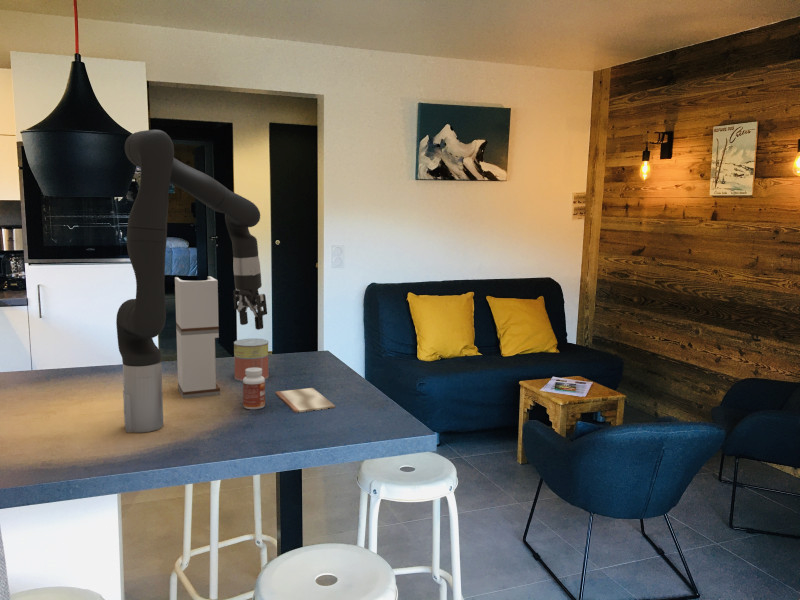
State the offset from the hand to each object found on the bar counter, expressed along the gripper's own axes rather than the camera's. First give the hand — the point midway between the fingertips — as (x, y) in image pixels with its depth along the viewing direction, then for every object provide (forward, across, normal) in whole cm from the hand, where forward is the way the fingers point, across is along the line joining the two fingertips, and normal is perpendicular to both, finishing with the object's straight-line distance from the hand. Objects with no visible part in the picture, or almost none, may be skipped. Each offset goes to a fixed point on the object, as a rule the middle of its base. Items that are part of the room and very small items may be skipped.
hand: (251, 326), depth 190 cm
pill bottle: (+22, +6, -5) cm, 23 cm away
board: (+23, +11, +9) cm, 27 cm away
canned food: (+23, -22, +11) cm, 34 cm away
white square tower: (+22, -17, -10) cm, 30 cm away
